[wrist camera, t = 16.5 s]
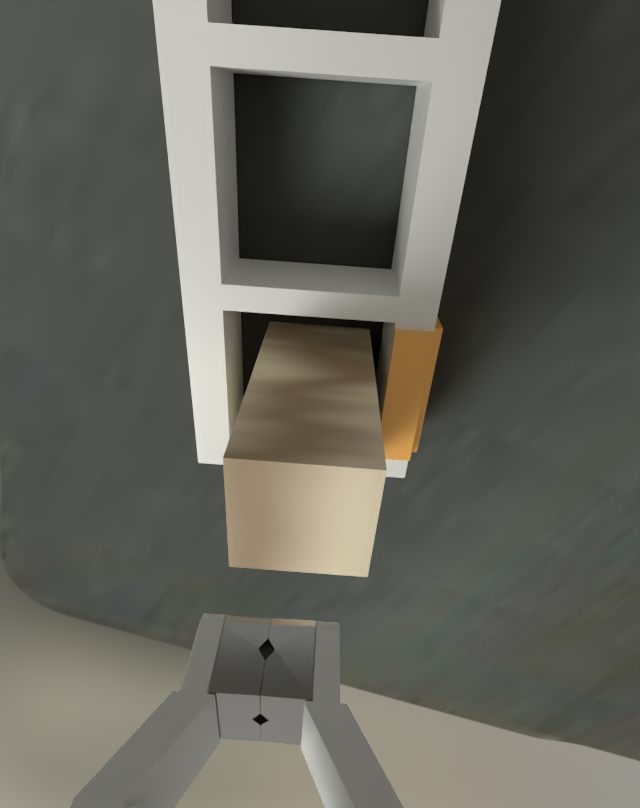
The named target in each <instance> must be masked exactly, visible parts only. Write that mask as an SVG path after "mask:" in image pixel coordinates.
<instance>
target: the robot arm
mask: <svg viewBox="0 0 640 808" xmlns="http://www.w3.org/2000/svg"><path fill="white" fill-rule="evenodd" d="M220 739H230V740H252V741H260V740H261V741H266V742H277V743H286V744H296V745H301V749H302V752H303V754H304V757H305V759H306V762H307V764H308V767H309V769H310V772H311V774H312V777H313V779H314V782H315V784H316V787H317V789H318V792H319V794H320V797H321V799H322V802H323V804H324V807H325V808H403V806H402V804H401V802H400V800H399V798H398V797H397V795H396V793H395V791H394V789H393V788H392V786H391V784H390V782H389V780H388V778H387V777H386V775H385V773H384V771H383V769H382V768H381V766H380V764H379V762H378V760H377V758H376V757H375V755H374V753H373V751H372V749H371V748H370V746H369V744H368V742H367V740H366V738H365V737H364V735H363V733H362V731H361V729H360V727H359V726H358V724H357V722H356V720H355V718H354V717H353V715H352V713H351V711H350V709H349V707H348V706H347V704H342V703H340V626H339V623H336V622H320V621H317V622H316V621H312V620H294V619H275V618H272V619H270V618H257V617H243V616H230V615H223V614H207V613H204V614H203V616H202V618H201V620H200V623H199V626H198V630H197V633H196V637H195V640H194V644H193V648H192V651H191V655H190V658H189V662H188V665H187V669H186V673H185V676H184V680H183V683H182V687H181V690H180V691H173V692H172V693H171V694H170V695H169V696H168V697H167V698H166V700H165V701H164V702H163V703H162V704H161V705H160V706H159V707H158V708H157V709H156V711H154V712H153V714H152V715H151V716H150V717H149V718H148V719H147V720H146V721H145V722H144V723H143V724H142V725H141V727H140V728H139V729H138V730H137V731H136V732H135V733H134V734H133V735H132V736H131V737H130V738H129V739H128V740H127V742H126V743H125V744H124V745H123V746H122V747H121V748H120V749H119V750H118V751H117V752H116V753H115V754H114V756H113V757H112V758H111V759H110V760H109V761H108V762H107V763H106V764H105V765H104V766H103V768H102V769H101V770H100V771H99V772H98V773H97V774H96V775H95V776H94V777H93V778H92V779H91V780H90V781H89V783H88V784H87V785H86V786H85V787H84V788H83V789H82V790H81V791H80V792H79V793H78V794H77V795H76V797H75V798H74V800H73V802H72V805H71V807H70V808H174V807H175V806H176V804H177V803H178V802H179V800H180V799H181V797H182V796H183V795H184V793H185V792H186V790H187V789H188V787H189V786H190V785H191V783H192V781H193V780H194V779H195V777H196V776H197V775H198V773H199V772H200V770H201V769H202V767H203V766H204V765H205V763H206V761H207V760H208V759H209V757H210V756H211V755H212V753H213V752H214V750H215V749H216V747H217V746H218V745H219V743H220Z"/></svg>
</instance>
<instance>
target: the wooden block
mask: <svg viewBox="0 0 640 808" xmlns="http://www.w3.org/2000/svg"><path fill="white" fill-rule="evenodd" d="M223 467H224V484H225V502H226V519H227V537H228V554H229V567H241V568H254V569H268V570H281V571H294V572H307V573H320V574H333V575H346V576H359V577H368V571H369V566H370V560H371V555H372V549H373V544H374V538H375V533H376V527H377V521H378V516H379V510H380V505H381V499H382V494H383V488H384V483H385V477H386V472H387V469H386V460H385V452H384V444H383V435H382V427H381V419H380V411H379V402H378V394H377V386H376V378H375V369H374V361H373V353H372V344H371V336H370V329H364V328H351V327H338V326H325V325H312V324H298V323H285V322H272V321H270V322H269V325H268V328H267V330H266V333H265V336H264V339H263V342H262V345H261V348H260V351H259V354H258V357H257V360H256V363H255V366H254V369H253V371H252V374H251V377H250V380H249V383H248V386H247V389H246V392H245V395H244V398H243V401H242V404H241V407H240V410H239V412H238V415H237V418H236V421H235V424H234V427H233V430H232V433H231V436H230V439H229V442H228V445H227V448H226V451H225V453H224V456H223Z"/></svg>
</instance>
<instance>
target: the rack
mask: <svg viewBox="0 0 640 808" xmlns="http://www.w3.org/2000/svg"><path fill="white" fill-rule="evenodd" d="M500 4H501V0H429V2H428V10H427V17H426V24H425V31H424V37H412V36H398V35H383V34H369V33H354V32H340V31H326V30H311V29H297V28H283V27H268V26H254V25H240V24H232V8H231V0H153V10H154V20H155V30H156V40H157V50H158V60H159V70H160V80H161V90H162V100H163V110H164V121H165V131H166V141H167V151H168V161H169V171H170V181H171V191H172V201H173V211H174V221H175V232H176V242H177V252H178V262H179V272H180V282H181V292H182V302H183V312H184V322H185V332H186V343H187V353H188V363H189V373H190V383H191V393H192V403H193V413H194V423H195V433H196V443H197V454H198V463H207V464H221V465H223V456H224V453H225V451H226V448H227V445H228V442H229V439H230V436H231V433H232V430H233V427H234V424H235V421H236V418H237V415H238V412H239V410H240V407H241V404H242V401H243V398H244V394H243V362H242V330H241V312H253V313H267V314H281V315H295V316H309V317H323V318H337V319H351V320H364V321H378V322H384V324H383V331H382V339H381V346H380V353H379V360H378V367H377V374H376V386H377V394H378V402H379V411H380V419H381V427H382V435H383V444H384V452H385V460H386V469H387V472H386V477H399V478H405V473H406V468H407V463H408V461H410V457H411V452H417V449H418V444H419V440H420V435H421V430H422V426H423V421H424V416H425V412H426V407H427V402H428V397H429V393H430V388H431V383H432V379H433V374H434V369H435V364H436V360H437V355H438V350H439V346H440V341H441V336H442V332H443V328H442V325H441V323H440V321H439V319H438V316H437V315H438V310H439V305H440V300H441V295H442V291H443V286H444V281H445V276H446V271H447V266H448V261H449V256H450V251H451V246H452V241H453V236H454V231H455V226H456V221H457V216H458V211H459V207H460V202H461V197H462V192H463V187H464V182H465V177H466V172H467V167H468V162H469V157H470V152H471V147H472V142H473V137H474V132H475V128H476V123H477V118H478V113H479V108H480V103H481V98H482V93H483V88H484V83H485V78H486V73H487V68H488V63H489V58H490V53H491V49H492V44H493V39H494V34H495V29H496V24H497V19H498V14H499V9H500ZM234 73H238V74H252V75H267V76H281V77H295V78H309V79H324V80H338V81H352V82H367V83H381V84H395V85H409V86H417V88H416V95H415V103H414V110H413V117H412V124H411V131H410V138H409V145H408V153H407V160H406V167H405V174H404V181H403V188H402V196H401V203H400V210H399V217H398V224H397V231H396V238H395V246H394V253H393V260H392V267H391V269H382V268H368V267H354V266H340V265H326V264H312V263H298V262H284V261H270V260H256V259H242V258H239V233H238V201H237V169H236V137H235V104H234Z"/></svg>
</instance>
